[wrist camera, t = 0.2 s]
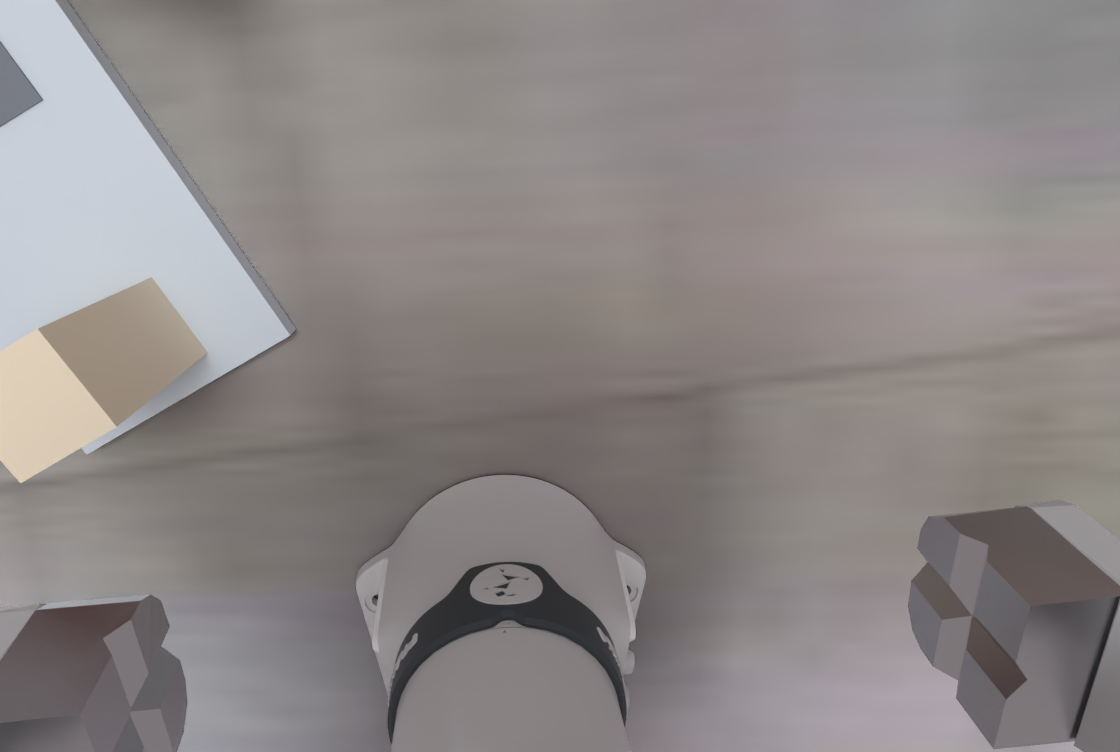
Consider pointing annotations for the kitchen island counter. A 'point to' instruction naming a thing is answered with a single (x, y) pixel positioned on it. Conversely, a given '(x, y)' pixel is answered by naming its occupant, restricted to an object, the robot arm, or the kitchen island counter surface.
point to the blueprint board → (103, 254)
